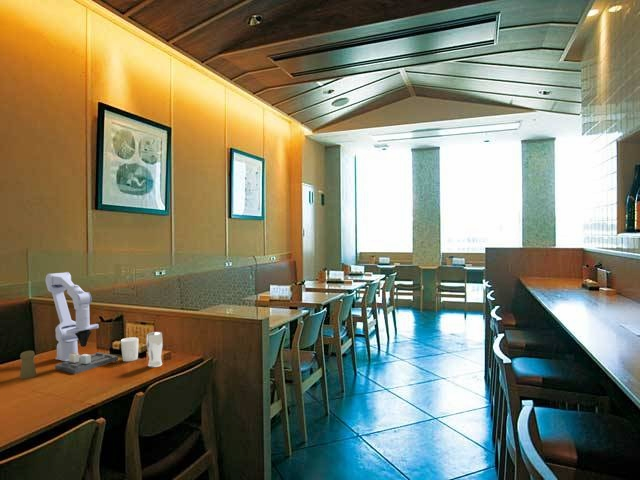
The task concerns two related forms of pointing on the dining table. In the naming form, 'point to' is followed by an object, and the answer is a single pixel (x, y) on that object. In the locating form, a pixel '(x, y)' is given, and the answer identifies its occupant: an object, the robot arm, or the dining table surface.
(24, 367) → the tan bulb-headed cylinder
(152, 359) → the beer glass
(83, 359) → the fader bluegrey
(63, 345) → the robot arm
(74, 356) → the fader cream
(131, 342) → the white cup
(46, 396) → the dining table surface
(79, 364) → the console
